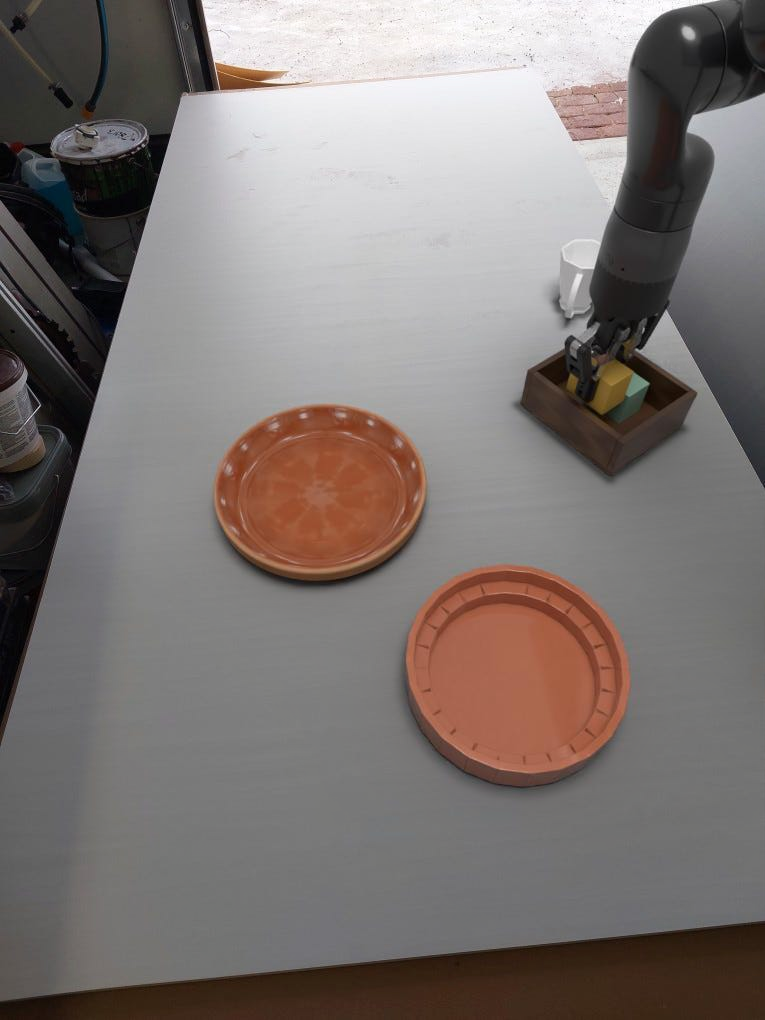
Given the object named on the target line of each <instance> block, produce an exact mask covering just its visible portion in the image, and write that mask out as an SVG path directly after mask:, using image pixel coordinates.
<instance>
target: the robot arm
mask: <svg viewBox="0 0 765 1020" xmlns="http://www.w3.org/2000/svg"><path fill="white" fill-rule="evenodd" d="M764 94H765V0H713V1H709V2H703V3H699V4H693V5H688V6H682V7H678V8H673V9H671V10H668V11H666V12H663V13H662V14H660V15H659V16H657V17H656V18H655V19H653V21H652V22H651V23H650V24H649V25H648V26H647V27H646V29H645V30H644V32H643V33H642V35H641V36H640V38H639V39H638V42H637V44H636V46H635V48H634V50H633V53H632V55H631V58H630V60H629V66H628V71H627V79H626V104H627V105H626V161H625V165H624V169H623V172H622V175H621V180H620V183H619V187H618V190H617V194H616V198H615V201H614V205H613V207H612V211H611V213H610V215H609V218H608V220H607V222H606V225H605V227H604V230H603V234H602V238H601V242H600V243H601V246H600V249H599V253H598V257H597V260H596V264H595V268H594V271H593V275H592V279H591V283H590V287H589V294H590V297H591V300H592V302H591V303H592V306H593V311H592V313H591V315H590V316H589V319H588V320H587V323H586V326H585V327H586V330H585V331H584V332H582V333H581V334H580V335H579V336H578V337H576V336H574V335H573V334H570V335H569V336H567V338H565V340H564V343H563V344H564V348H565V355H566V363H567V371H568V372H569V373H571V374H572V375H573V376H575V377H576V378H578V382H577V385H576V389H575V394H576V395H577V396H578V397H579V398H581V399H582V400H583V401H585V402H586V403H589V402H591V401H593V400H594V397H595V394H596V391H597V387H598V384H599V381H600V378H601V376H602V373H603V371H604V369H605V367H606V365H607V363H610V362H612V361H613V360H614V358H615V359H616V360H618V361H619V362H620V363H622V364H624V365H626V362H627V361H629V360H630V359H631V358H632V357H633V355H634V352H635V350H636V349H637V351H642V350H643V349H644V348H645V346H646V345H647V343H648V342H649V340H650V337H651V336H652V334H653V333H654V331H655V330H656V328H657V326H658V324H659V322H660V320H661V319H662V317H663V316H664V314H665V313H666V311H667V309H668V307H669V306H670V303H671V300H670V299H669V297H670V295H671V292H672V289H673V287H674V284H675V282H676V278H677V276H678V274H679V271H680V268H681V266H682V263H683V261H684V257H685V256H686V254H687V250H688V248H689V244H690V241H691V237H692V232H693V228H694V225H695V221H696V218H697V216H698V213H699V210H700V208H701V205H702V202H703V199H704V198H705V195H706V192H707V189H708V186H709V184H710V182H711V179H712V175H713V171H714V168H715V160H716V156H715V152H714V148H713V147H712V145H711V144H710V142H709V141H707V140H706V139H704V138H703V137H701V136H700V135H698V134H694V133H692V132H689V131H688V129H689V125H690V122H691V121H692V118H693V116H696V115H699V114H704V113H708V112H713V111H717V110H721V109H724V108H729V107H732V106H735V105H739V104H741V103H744V102H747V101H750V100H752V99H754V98H757V97H760V96H761V95H764ZM605 350H608V351H607V352H606V351H605ZM592 357H593V358H594V359H596V360H597V365H596V367H595V366H594V365H592V360H591V358H592Z"/></svg>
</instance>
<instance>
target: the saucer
mask: <svg viewBox="0 0 765 1020" xmlns="http://www.w3.org/2000/svg"><path fill="white" fill-rule="evenodd" d="M427 483H428V482H427V471H426V467H425V464H424V461H423V458H422V456H421V454H420V452H419V449H418V448H417V447H416V445H415V444H414V442H413V441H412V440H411V438H409V436H408V435H407V434H406V433H405V432H404V431H403V430H402V429H400V428H399V427H398V426H396V425H395V424H394V423H392V422H391V421H389V420H388V419H386V418H384V417H382V416H381V415H378V414H376V413H374V412H371V411H368V410H366V409H363V408H359V407H355V406H350V405H346V404H345V405H344V404H337V403H317V404H307V405H301V406H296V407H292V408H287V409H284V410H282V411H279V412H276V413H274V414H271V415H269V416H267V417H265V418H264V419H261V420H259V422H256V423H255V424H254V425H252V426H251V427H250V428H248V429H247V430H245V431H243V433H242V434H241V435H239V437H237V439H236V440H235V441H234V442H233V443H232V444H231V446H230V447H229V448H228V450H227V451H226V452H225V454H224V455H223V457H222V459H221V460H220V463H219V465H218V468H217V471H216V474H215V477H214V482H213V493H212V495H213V505H214V511H215V514H216V517H217V520H218V522H219V524H220V527H221V528H222V531H223V533H224V535H225V537H226V538H227V540H228V541H229V543H230V544H231V546H233V548H234V549H235V550H236V551H237V552H238V553H239V554H241V555H242V556H243V557H244V558H245V559H247V561H249V562H251V563H252V564H254V565H255V566H257V567H259V568H260V569H263V570H265V571H267V572H269V573H272V574H275V575H278V576H280V577H284V578H287V579H288V578H289V579H293V580H300V581H314V582H315V581H318V582H320V581H331V580H332V581H333V580H338V579H339V580H340V579H344V578H348V577H352V576H355V575H358V574H361V573H363V572H366V571H368V570H371V569H372V568H375V567H376V566H378V565H380V564H381V563H383V562H385V561H386V560H388V559H389V558H390V557H392V556H393V555H394V554H396V553H397V552H398V551H399V550H400V549H401V548H402V547H404V545H405V544H406V542H408V540H409V539H410V537H411V536H412V535H413V533H414V532H415V530H416V529H417V527H418V525H419V522H420V521H421V518H422V517H423V512H424V509H425V503H426V499H427V498H426V497H427V487H428V484H427Z"/></svg>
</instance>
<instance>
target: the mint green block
mask: <svg viewBox="0 0 765 1020" xmlns="http://www.w3.org/2000/svg"><path fill="white" fill-rule="evenodd" d="M649 384H650V383H648V382H647V381H645V380H644V379H643V378H641V377H640V376H638V375H637V374H635V373H633V376H632V379H631V381H630V384H629V387H628V389H627V392H626V395H625V397H624V400H623V402H621V403H620V404H618V405H617V406H615V407H613V408H612V409H610V410H609V411H607V412H606V413H605V414H606V415H608V416H609V417H610V418H612V419H613V420H614V421H616V422H617V423H618V424H619V423H621V422H623V421H624V420H626V419H627V418H629V417H630V416H632V415H633V414H635V413H636V412H638V411H639V409H640V406H641V404H642V402H643V399H644V397H645V394H646V392H647V389H648V387H649Z"/></svg>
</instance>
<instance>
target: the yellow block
mask: <svg viewBox="0 0 765 1020" xmlns="http://www.w3.org/2000/svg"><path fill="white" fill-rule="evenodd" d="M591 360H592V365H594V366H595V367H596V365H597V360H596V359H594V358H593V357H592V358H591ZM633 373H634V371H632V370H631V369H629V368H628V367H626V366H625V365H624V364H622V363H620V362H619V361H618V360H616V359H615V358H614V360H613V361H612V362H610V363H607V365H606V367H605V369H604V371H603V373H602V376H601V378H600V381H599V384H598V387H597V391H596V394H595V397H594V400H593V401H591V402H589V403H586V402H585V401H584V402H585V403H586V404H588V405H589V406H590V407H591V408H593V409H594V410H595V411H597V412H598V413H599V414H601V415H603V414H604V413H606V412H607V411H609V410H610V409H612V408H613V407H615V406H617V405H618V404H620V403H621V402H623V400H624V397H625V395H626V392H627V389H628V387H629V384H630V381H631V379H632V376H633ZM577 382H578V378H576V377H575V376H573V375H572V374H571V373H570V376H569V379H568V383H567V387H566V389H568V390H569V391H570V392H572V393H573V394H574V395H576V394H575V389H576V385H577ZM576 396H577V395H576ZM577 397H578V396H577ZM578 398H579V397H578ZM580 399H581V398H580ZM581 400H582V399H581ZM582 401H583V400H582Z"/></svg>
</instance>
